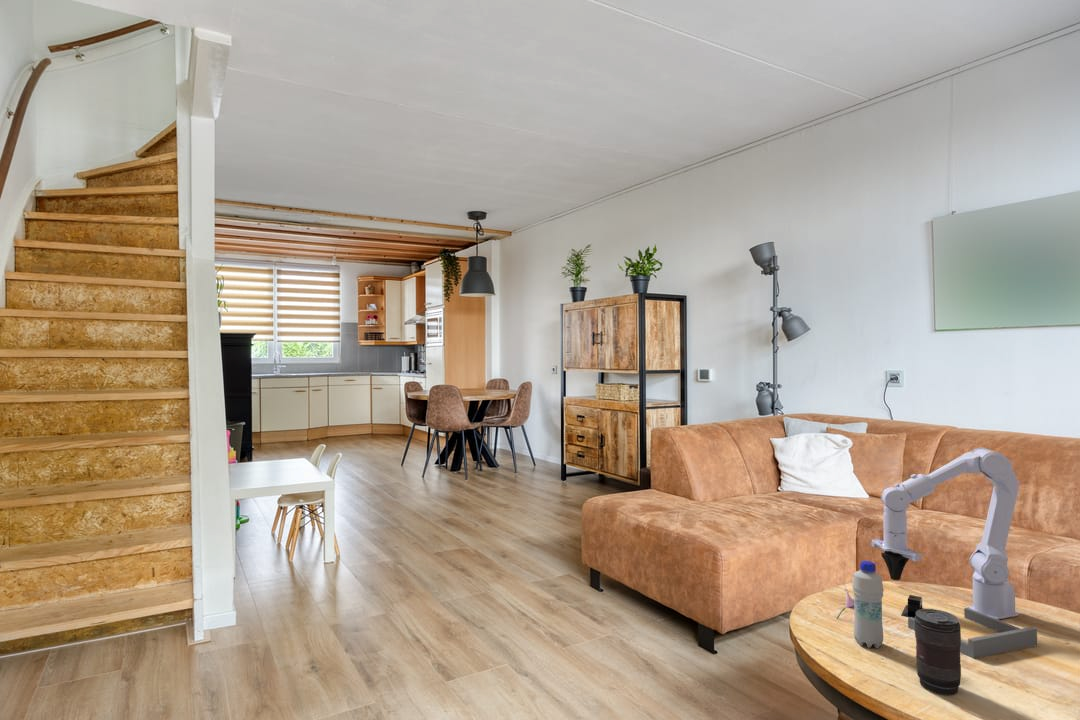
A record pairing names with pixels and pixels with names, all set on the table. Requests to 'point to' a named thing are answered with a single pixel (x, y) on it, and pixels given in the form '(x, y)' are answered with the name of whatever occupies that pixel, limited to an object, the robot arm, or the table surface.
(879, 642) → the bottle
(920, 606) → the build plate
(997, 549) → the robot arm
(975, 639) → the dock
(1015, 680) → the table surface
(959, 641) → the camera lens
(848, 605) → the lily
